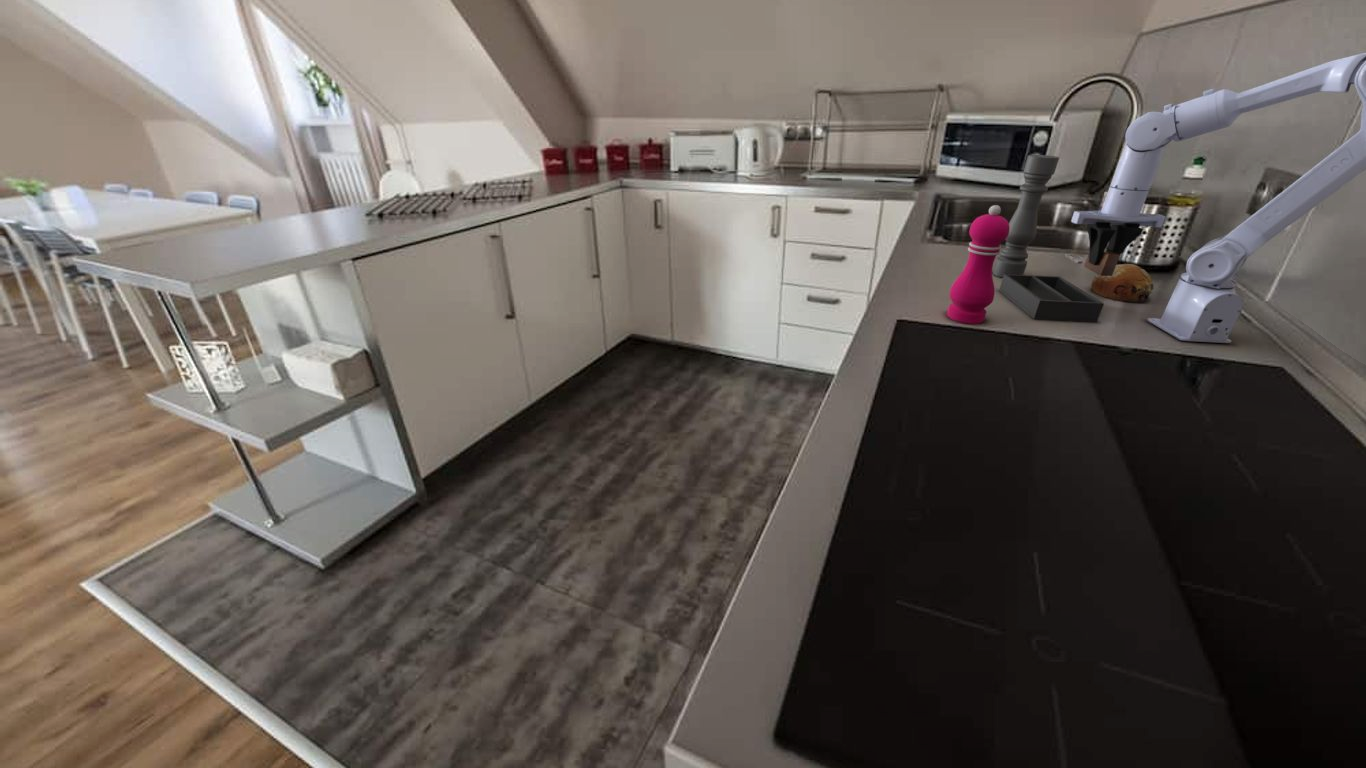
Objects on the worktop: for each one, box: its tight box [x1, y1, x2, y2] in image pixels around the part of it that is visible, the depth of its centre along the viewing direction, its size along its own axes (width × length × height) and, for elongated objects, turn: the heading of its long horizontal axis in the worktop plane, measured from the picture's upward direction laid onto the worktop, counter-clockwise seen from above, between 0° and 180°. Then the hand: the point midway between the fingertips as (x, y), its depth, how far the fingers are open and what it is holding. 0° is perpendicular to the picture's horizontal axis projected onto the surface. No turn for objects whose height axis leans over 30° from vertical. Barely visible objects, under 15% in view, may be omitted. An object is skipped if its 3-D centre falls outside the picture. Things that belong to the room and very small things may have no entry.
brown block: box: [1064, 247, 1121, 276], centre depth 108 cm, size 13×2×4 cm, turn 174°
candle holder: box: [992, 154, 1060, 279], centre depth 120 cm, size 6×6×25 cm
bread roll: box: [1090, 263, 1154, 303], centre depth 114 cm, size 10×10×8 cm
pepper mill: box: [946, 204, 1010, 325], centre depth 97 cm, size 7×7×20 cm
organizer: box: [998, 274, 1105, 323], centre depth 108 cm, size 16×11×4 cm
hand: (1100, 264), depth 105 cm, fingers closed on brown block, 2 cm apart
